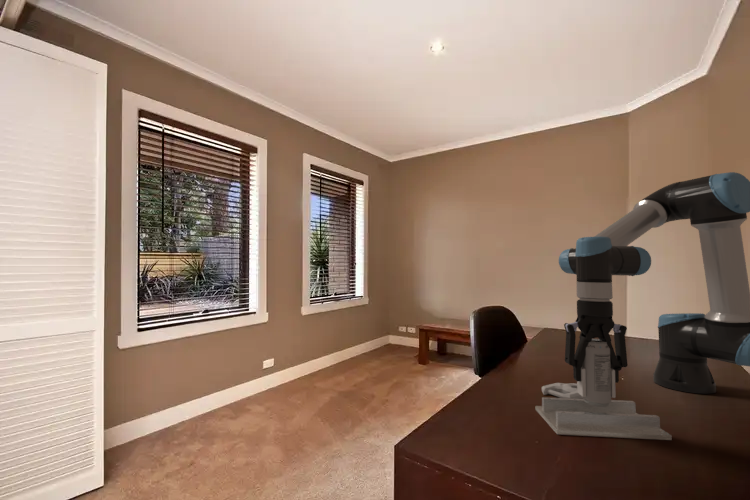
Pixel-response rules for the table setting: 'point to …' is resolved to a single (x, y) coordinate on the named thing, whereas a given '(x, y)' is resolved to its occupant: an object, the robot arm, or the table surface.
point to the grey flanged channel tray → (600, 419)
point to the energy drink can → (597, 373)
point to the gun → (562, 390)
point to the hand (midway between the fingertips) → (596, 395)
